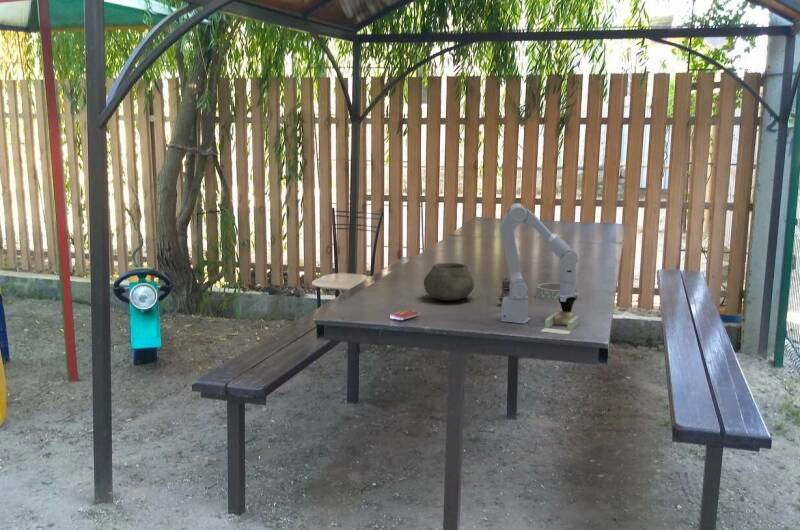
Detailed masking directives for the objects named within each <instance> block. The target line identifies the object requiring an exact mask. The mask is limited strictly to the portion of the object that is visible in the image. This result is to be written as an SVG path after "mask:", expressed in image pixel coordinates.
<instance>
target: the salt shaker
mask: <svg viewBox="0 0 800 530" xmlns="http://www.w3.org/2000/svg"><path fill="white" fill-rule="evenodd" d="M510 282H511V280H509V278H508V277H507V276H505V278H504V279H503V280H502V283H501V285H502V286H501V294H500V295H499V296H498V298H499V302H500V304H498V305H500V306H499V307H501V306H502V300H503V298H504V297H509V295H510V294H511V290H510Z"/></svg>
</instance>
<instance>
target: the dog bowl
mask: <svg viewBox="0 0 800 530" xmlns="http://www.w3.org/2000/svg"><path fill="white" fill-rule="evenodd" d="M559 292H560V282H546V283H545V282H544V283H540V284H538V285H537V286H536V289H535V299H536V300H538V299H539V300H538V301H541V300H542V302H545V301H546V302H545V303H559V304H560V302H559V298H560V295H559ZM575 293H578V292H577V288H575ZM572 297H575V298H576V299H577V298H578V296H572Z"/></svg>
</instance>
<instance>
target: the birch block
mask: <svg viewBox="0 0 800 530" xmlns="http://www.w3.org/2000/svg"><path fill="white" fill-rule="evenodd" d="M554 313H555V322H554V324H553V325H561V326H568V322H569V321H570V320H571V319H572V318H573V317H574V316H575V315H574V314H575V313H574V312H572V311H571V312H564V311H562V310H557V311H556V312H554Z"/></svg>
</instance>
